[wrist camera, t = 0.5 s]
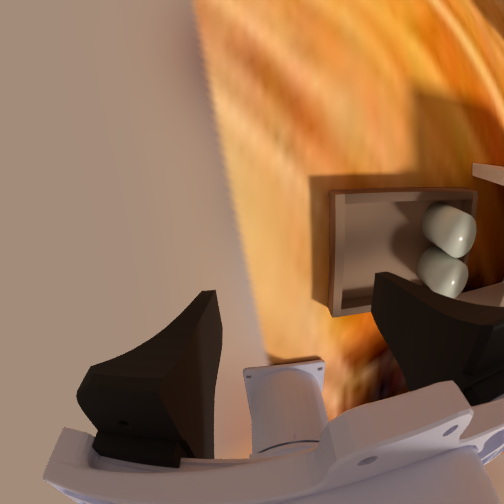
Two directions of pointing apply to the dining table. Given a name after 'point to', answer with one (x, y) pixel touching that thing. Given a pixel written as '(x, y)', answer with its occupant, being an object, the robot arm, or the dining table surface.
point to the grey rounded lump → (449, 228)
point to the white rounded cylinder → (442, 272)
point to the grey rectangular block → (500, 292)
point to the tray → (381, 238)
